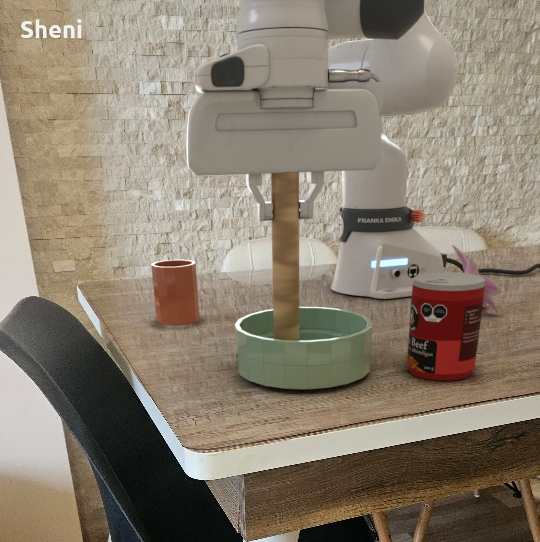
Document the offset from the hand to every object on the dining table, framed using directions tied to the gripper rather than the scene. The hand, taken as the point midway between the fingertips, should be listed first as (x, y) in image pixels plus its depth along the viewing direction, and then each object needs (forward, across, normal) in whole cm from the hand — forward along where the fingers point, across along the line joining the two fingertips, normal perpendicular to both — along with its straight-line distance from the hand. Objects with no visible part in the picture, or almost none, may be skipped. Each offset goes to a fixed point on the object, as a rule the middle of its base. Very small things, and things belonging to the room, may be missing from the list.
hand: (285, 219), depth 72 cm
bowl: (+18, -2, -1) cm, 18 cm away
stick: (+14, 0, 0) cm, 14 cm away
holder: (+18, +12, -29) cm, 36 cm away
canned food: (+18, -18, +3) cm, 26 cm away
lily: (+18, -34, -24) cm, 45 cm away
